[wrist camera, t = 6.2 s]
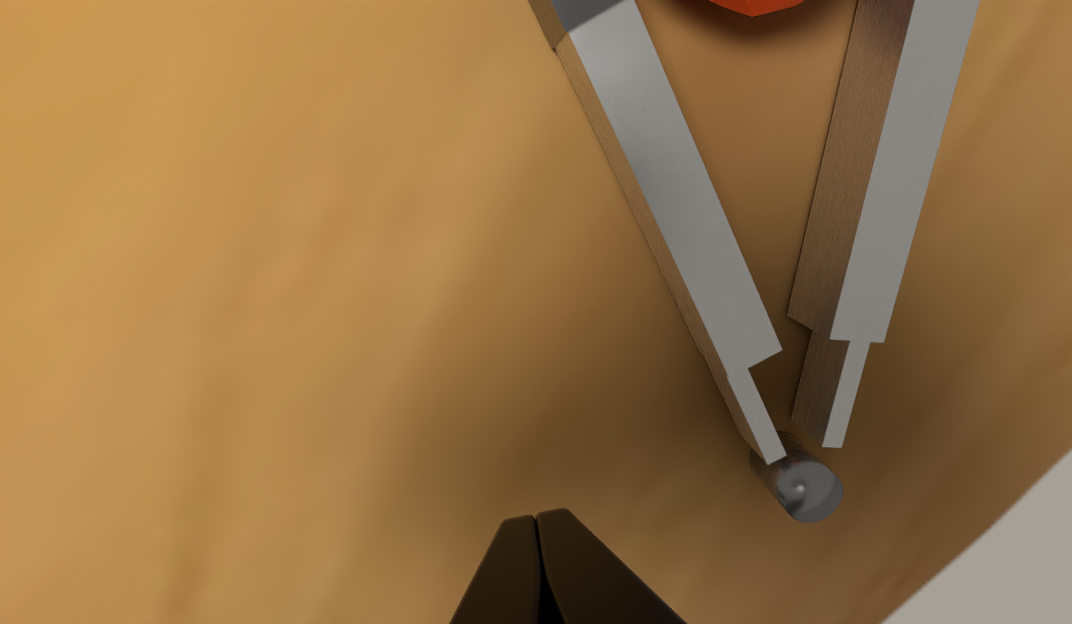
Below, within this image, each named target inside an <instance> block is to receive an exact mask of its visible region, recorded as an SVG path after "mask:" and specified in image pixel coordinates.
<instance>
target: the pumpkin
mask: <svg viewBox="0 0 1072 624" xmlns="http://www.w3.org/2000/svg"><path fill="white" fill-rule="evenodd" d="M709 1H712V2H714V3H716V4H718V5H720V6H722V7H725V8H728V9H730V10H733V11H736V12H739V13H742V14H745V15H748V16H751V17H753V16H757V15H761V14H765V13H770V12H774V11H778V10H782V9H786V8H790V7H793V6H795V5H797V4H799V3H801V2H803V1H805V0H709Z"/></svg>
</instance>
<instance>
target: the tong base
mask: <svg viewBox="0 0 1072 624" xmlns="http://www.w3.org/2000/svg"><path fill="white" fill-rule="evenodd" d="M979 1H980V0H859V1H858V5H857V10H856V14H855V18H854V23H853V27H852V31H851V36H850V40H849V45H848V49H847V53H846V58H845V62H844V67H843V71H842V75H841V80H840V84H839V88H838V93H837V97H836V102H835V106H834V110H833V115H832V119H831V124H830V128H829V132H828V137H827V141H826V145H825V150H824V154H823V159H822V163H821V167H820V172H819V176H818V181H817V185H816V189H815V194H814V198H813V202H812V207H811V211H810V216H809V220H808V224H807V229H806V233H805V238H804V242H803V246H802V251H801V255H800V259H799V264H798V268H797V273H796V277H795V281H794V286H793V290H792V294H791V299H790V303H789V308H788V312H787V316H788V317H790V318H792V319H794V320H796V321H797V322H799V323H801V324H803V325H805V326H806V327H808V328H810V329H812V333H811V337H810V341H809V345H808V350H807V354H806V358H805V362H804V366H803V370H802V374H801V378H800V382H799V387H798V391H797V395H796V399H795V403H794V407H793V411H792V415H791V420H792V421H793V422H794V423H795V424H796V425H798V426H799V427H800V428H801V429H802V430H803V431H804V432H806V433H807V434H808V435H809V436H810V437H811V438H812V439H814V440H815V441H816V442H817V443H818V444H819V445H820V446H821V447H833V448H842V444H843V441H844V437H845V433H846V430H847V426H848V423H849V419H850V415H851V412H852V408H853V404H854V401H855V397H856V393H857V390H858V386H859V382H860V379H861V375H862V371H863V368H864V364H865V360H866V357H867V353H868V349H869V346H870V342H879V343H884V340H885V337H886V333H887V329H888V326H889V322H890V319H891V315H892V312H893V308H894V304H895V301H896V297H897V294H898V290H899V287H900V283H901V279H902V276H903V272H904V269H905V265H906V262H907V258H908V255H909V251H910V247H911V244H912V240H913V237H914V233H915V230H916V226H917V222H918V219H919V215H920V212H921V208H922V205H923V201H924V197H925V194H926V190H927V187H928V183H929V180H930V176H931V173H932V169H933V165H934V162H935V158H936V155H937V151H938V148H939V144H940V140H941V137H942V133H943V130H944V126H945V123H946V119H947V115H948V112H949V108H950V105H951V101H952V98H953V94H954V90H955V87H956V83H957V80H958V76H959V73H960V69H961V66H962V62H963V58H964V55H965V51H966V48H967V44H968V41H969V37H970V33H971V30H972V26H973V23H974V19H975V16H976V12H977V8H978V5H979ZM777 435H778V437H779V439H780V441H781V444H782V446H783V448H784V450H785V452H786V456H784V457H783V458H781V459H779V460H777V461H775V462H773V463H771V464H769V465H767V464H766V463H765V461H764V460H763V459H762V458H761V457H760V456H759V455H758V454H757V453H756V451H755V450H754V449H752V451H751V454H750V466H751V468H752V470H753V472H754V473H755V474H756V475H757V476H758V477H759V479H760V480H761V481H762V482H763V483H764V485H765V486H766V487H767V488H768V489H769V491H770V492H771V493H772V494H773V495H774V496H775V498H776V499H777V500H778V501H779V502H780V504H781V505H782V506H783V507H784V508H785V510H786V511H787V512H788V513H789V514H790V515H791V516H792V517H793V518H794V519H796V520H798V521H801V522H807V523H808V522H816V521H819V520H822V519H824V518H826V517H827V516H829V515H830V514H832V513H833V512H834V511H835V510H836V508H837V507H838V505H839V504H840V502H841V499H842V496H843V486H842V483H841V481H840V479H839V478H838V477H837V476H836V475H835V474H834V473H833V472H832V471H831V470H830V469H829V468H827V467H826V466H825V465H824V464H823V463H822V462H821V461H820V460H819V459H818V458H817V457H816V456H815V455H813V454H812V453H811V452H810V451H809V450H808V449H807V448H806V447H805V446H804V445H803V444H802V443H800V442H799V441H798V440H797V439H796V438H795V437H794V436H792V435H791V434H789V433H785V432H777Z"/></svg>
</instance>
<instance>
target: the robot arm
mask: <svg viewBox="0 0 1072 624" xmlns="http://www.w3.org/2000/svg"><path fill="white" fill-rule="evenodd" d="M449 624H687V623H686V622H685V621H684V620H683V619H682V618H681V617H679V616H678V615H677V614H676V613H675V612H674V611H673V610H672V609H671V608H670V607H669V606H668V605H667V604H666V603H665V602H664V601H663V600H662V599H661V598H660V597H659V596H658V595H657V594H655V593H654V592H653V591H652V590H651V589H650V588H649V587H648V586H647V585H646V584H645V583H644V582H643V581H642V580H641V579H640V578H639V577H638V576H637V575H636V574H635V573H634V572H633V571H631V570H630V569H629V568H628V567H627V566H626V565H625V564H624V563H623V562H622V561H621V560H620V559H619V558H618V557H617V556H616V555H615V554H614V553H613V552H612V551H611V550H610V549H609V548H607V547H606V546H605V545H604V544H603V543H602V542H601V541H600V540H599V539H598V538H597V537H596V536H595V535H594V534H593V533H592V532H591V531H590V530H589V529H588V528H587V527H586V526H585V525H584V524H582V523H581V522H580V521H579V520H578V519H577V518H576V517H575V516H574V515H573V514H572V513H571V512H570V511H569V510H568V509H566V508H559V509H554V510H549V511H545V512H540V513H538V514H537V515H536V521H535V518H534V517H533V516H532V515H525V516H520V517H515V518H510V519H506V520H504V521H503V522H502V523H501V525H500V527H499V528H498V530H497V532H496V534H495V536H494V538H493V540H492V542H491V544H490V546H489V548H488V550H487V552H486V554H485V555H484V557H483V559H482V561H481V563H480V565H479V567H478V569H477V571H476V573H475V575H474V577H473V579H472V580H471V582H470V584H469V586H468V588H467V590H466V592H465V594H464V596H463V598H462V600H461V602H460V604H459V606H458V607H457V609H456V611H455V613H454V615H453V617H452V619H451V621H450V623H449Z"/></svg>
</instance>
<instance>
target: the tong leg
mask: <svg viewBox="0 0 1072 624" xmlns="http://www.w3.org/2000/svg"><path fill="white" fill-rule="evenodd" d="M528 1H529V3H530V5H531V7H532V9H533V11H534V13H535V15H536V18H537V20H538V22H539V24H540V26H541V28H542V30H543V32H544V34H545V36H546V38H547V41H548V43H549V45H550V47H551V49H553V48H554V47H555V49H556V51H557V53H558V55H559V58H560V60H561V62H562V64H563V66H564V68H565V70H566V72H567V74H568V76H569V79H570V81H571V83H572V85H573V87H574V89H575V91H576V93H577V95H578V97H579V100H580V102H581V104H582V106H583V108H584V110H585V112H586V114H587V116H588V118H589V121H590V123H591V125H592V127H593V129H594V131H595V133H596V135H597V137H598V139H599V142H600V144H601V146H602V148H603V150H604V152H605V154H606V156H607V158H608V160H609V162H610V165H611V167H612V169H613V171H614V173H615V175H616V177H617V179H618V181H619V183H620V186H621V188H622V190H623V192H624V194H625V196H626V198H627V200H628V202H629V204H630V207H631V209H632V211H633V213H634V215H635V217H636V219H637V221H638V223H639V225H640V228H641V230H642V232H643V234H644V236H645V238H646V240H647V242H648V244H649V246H650V249H651V251H652V253H653V255H654V257H655V259H656V261H657V263H658V265H659V267H660V269H661V272H662V274H663V276H664V278H665V280H666V282H667V284H668V286H669V288H670V290H671V293H672V295H673V297H674V299H675V301H676V303H677V305H678V307H679V309H680V311H681V314H682V316H683V318H684V320H685V322H686V324H687V326H688V328H689V330H690V332H691V335H692V337H693V339H694V341H695V343H696V345H697V347H698V349H699V350H700V351H701V352H702V354H703V356H704V358H705V361H706V363H707V365H708V367H709V369H710V371H711V373H712V375H713V377H714V379H715V382H716V384H717V386H718V388H719V390H720V392H721V394H722V396H723V398H724V400H725V403H726V405H727V407H728V409H729V411H730V413H731V415H732V417H733V419H734V421H735V424H736V426H737V428H738V430H739V432H740V434H741V436H742V437H743V438H744V439H745V440H746V441H747V443H748V444H749V445H750V446H751V447H752V448H753V449H754V450H755V451H756V453H757V454H758V455H759V456H760V457H761V458H762V459H763V460H764V461H765V463H766V464H767V465H769V464H771V463H773V462H775V461H777V460H779V459H781V458H783V457H784V456H786V452H785V450H784V448H783V446H782V444H781V441H780V439H779V437H778V435H777V432H776V430H775V428H774V426H773V424H772V421H771V419H770V417H769V415H768V413H767V410H766V408H765V406H764V404H763V401H762V399H761V397H760V395H759V393H758V390H757V388H756V386H755V384H754V381H753V379H752V377H751V375H750V373H749V370H748V368H749V367H751V366H753V365H755V364H757V363H759V362H761V361H763V360H765V359H766V358H768V357H770V356H772V355H774V354H776V353H778V352H780V351H782V348H781V345H780V343H779V341H778V338H777V336H776V334H775V331H774V329H773V326H772V324H771V322H770V319H769V317H768V315H767V312H766V310H765V308H764V305H763V303H762V300H761V298H760V296H759V293H758V291H757V289H756V286H755V284H754V282H753V279H752V277H751V274H750V272H749V270H748V267H747V265H746V263H745V260H744V258H743V256H742V253H741V251H740V249H739V246H738V244H737V241H736V239H735V237H734V234H733V232H732V230H731V227H730V225H729V223H728V220H727V218H726V215H725V213H724V211H723V208H722V206H721V204H720V201H719V199H718V197H717V194H716V192H715V189H714V187H713V185H712V182H711V180H710V178H709V175H708V173H707V171H706V168H705V166H704V164H703V161H702V159H701V156H700V154H699V152H698V149H697V147H696V145H695V142H694V140H693V138H692V135H691V133H690V130H689V128H688V126H687V123H686V121H685V119H684V116H683V114H682V112H681V109H680V107H679V104H678V102H677V100H676V97H675V95H674V93H673V90H672V88H671V86H670V83H669V81H668V79H667V76H666V74H665V71H664V69H663V67H662V64H661V62H660V60H659V57H658V55H657V53H656V50H655V48H654V45H653V43H652V41H651V38H650V36H649V34H648V31H647V29H646V27H645V24H644V22H643V20H642V17H641V15H640V12H639V10H638V8H637V5H636V3H635V1H634V0H528Z"/></svg>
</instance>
